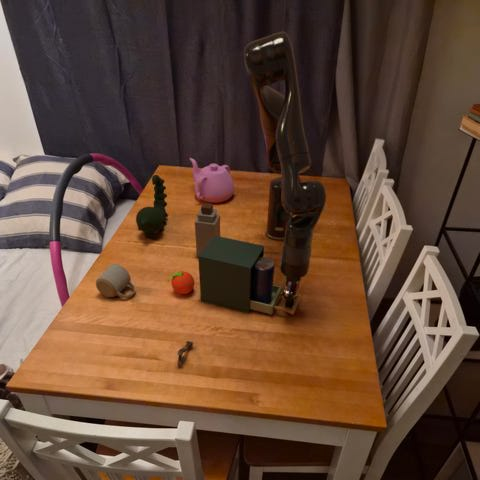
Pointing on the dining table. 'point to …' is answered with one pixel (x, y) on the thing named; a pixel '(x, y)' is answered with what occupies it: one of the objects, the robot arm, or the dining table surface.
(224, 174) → the teapot
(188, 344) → the dark brown angled piece
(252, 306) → the drawer
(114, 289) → the ceramic mug
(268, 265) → the navy can
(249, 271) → the cubby
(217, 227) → the perfume bottle
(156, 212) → the toy figurine
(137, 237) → the dining table surface
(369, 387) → the dining table surface
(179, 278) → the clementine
